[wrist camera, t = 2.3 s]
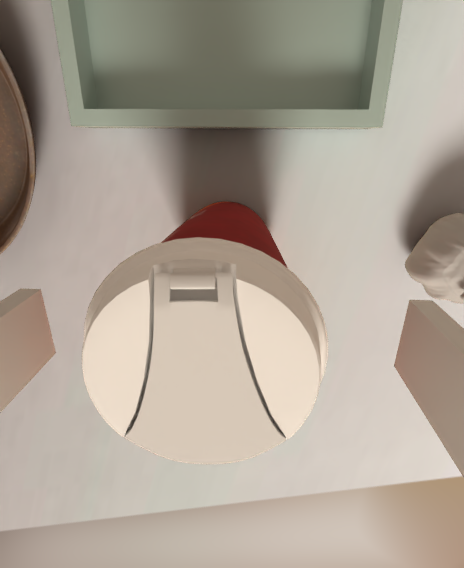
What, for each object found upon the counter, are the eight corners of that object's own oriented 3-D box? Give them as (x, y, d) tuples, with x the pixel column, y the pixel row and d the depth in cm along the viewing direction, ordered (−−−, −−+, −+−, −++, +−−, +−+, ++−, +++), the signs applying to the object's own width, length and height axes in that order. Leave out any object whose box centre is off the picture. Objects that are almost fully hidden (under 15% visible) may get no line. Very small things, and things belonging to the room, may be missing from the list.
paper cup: (163, 184, 21) (32, 253, 8) (287, 182, 21) (354, 250, 8) (174, 298, 24) (92, 478, 11) (283, 297, 24) (326, 483, 11)
